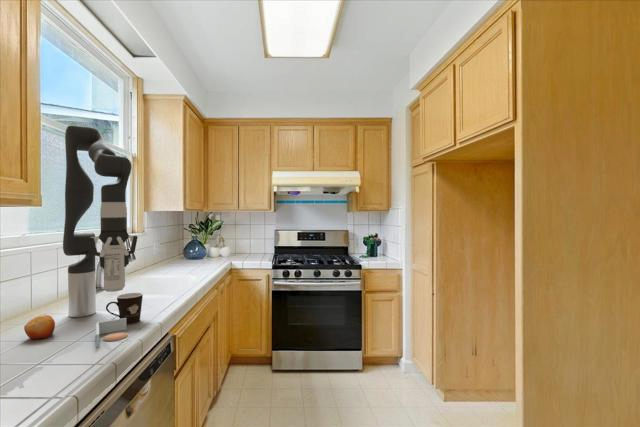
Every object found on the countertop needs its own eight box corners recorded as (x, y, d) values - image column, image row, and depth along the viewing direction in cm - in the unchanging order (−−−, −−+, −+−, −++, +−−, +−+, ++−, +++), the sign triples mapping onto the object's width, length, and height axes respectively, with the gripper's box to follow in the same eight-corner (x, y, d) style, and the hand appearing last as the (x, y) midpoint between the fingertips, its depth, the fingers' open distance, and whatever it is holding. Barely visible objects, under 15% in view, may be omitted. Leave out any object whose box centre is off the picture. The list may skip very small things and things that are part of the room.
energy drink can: (128, 288, 120) (128, 243, 120) (117, 292, 114) (117, 245, 114) (111, 288, 120) (111, 243, 120) (99, 292, 114) (99, 245, 114)
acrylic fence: (96, 333, 120) (96, 322, 120) (126, 329, 125) (126, 317, 125) (96, 347, 108) (96, 334, 108) (129, 341, 113) (129, 329, 113)
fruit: (65, 327, 124) (56, 310, 119) (51, 346, 117) (41, 329, 113) (41, 327, 123) (31, 311, 119) (26, 346, 117) (15, 330, 112)
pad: (103, 336, 118) (103, 335, 118) (126, 332, 122) (126, 331, 122) (103, 342, 112) (103, 341, 112) (128, 338, 116) (128, 337, 116)
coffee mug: (144, 317, 139) (143, 291, 139) (141, 323, 131) (141, 296, 131) (110, 320, 135) (109, 294, 134) (105, 327, 127) (105, 300, 126)
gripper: (137, 215, 124) (137, 264, 124) (87, 216, 116) (88, 268, 116) (139, 216, 117) (140, 267, 118) (87, 216, 110) (88, 271, 110)
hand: (114, 267), depth 117 cm, fingers closed on energy drink can, 5 cm apart
